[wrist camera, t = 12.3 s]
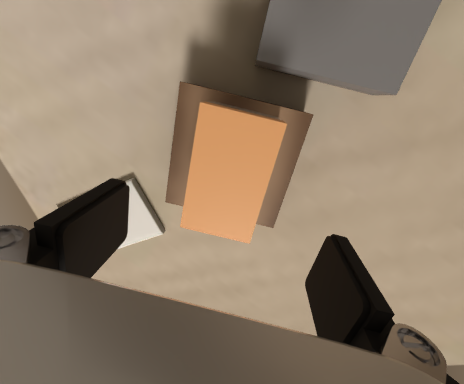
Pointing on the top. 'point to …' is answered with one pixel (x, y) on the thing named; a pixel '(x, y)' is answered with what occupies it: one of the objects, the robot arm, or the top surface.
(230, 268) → the top surface
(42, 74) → the top surface
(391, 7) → the stand
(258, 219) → the stand
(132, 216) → the external hard drive
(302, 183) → the top surface
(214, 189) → the cover
